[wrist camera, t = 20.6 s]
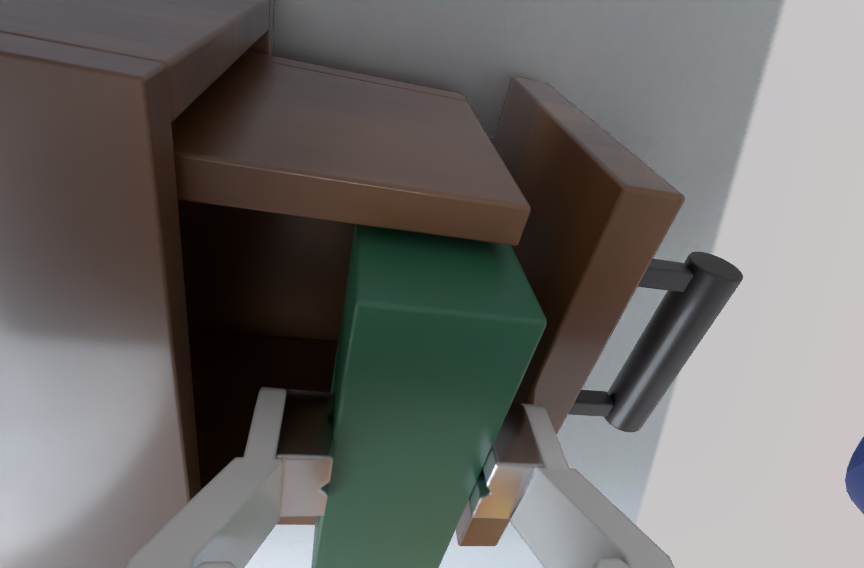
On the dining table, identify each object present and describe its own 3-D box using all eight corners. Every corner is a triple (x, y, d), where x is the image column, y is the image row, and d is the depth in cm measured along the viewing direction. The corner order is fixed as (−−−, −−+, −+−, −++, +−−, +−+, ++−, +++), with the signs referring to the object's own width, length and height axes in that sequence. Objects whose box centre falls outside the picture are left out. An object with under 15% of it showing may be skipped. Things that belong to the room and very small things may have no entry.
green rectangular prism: (357, 206, 9) (354, 301, 7) (505, 227, 10) (550, 321, 8) (320, 462, 14) (310, 576, 11) (424, 466, 14) (436, 574, 12)
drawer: (691, 113, 16) (913, 235, 9) (563, 369, 22) (643, 547, 16) (28, -28, 12) (-365, 16, 5) (103, 332, 18) (-40, 547, 12)
